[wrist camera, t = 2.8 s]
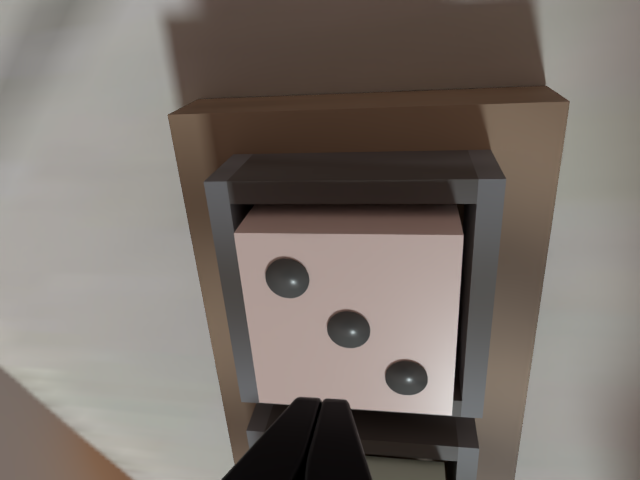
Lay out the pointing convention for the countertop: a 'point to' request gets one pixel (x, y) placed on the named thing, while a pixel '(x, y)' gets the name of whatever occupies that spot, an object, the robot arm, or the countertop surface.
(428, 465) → the tile two
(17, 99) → the countertop surface
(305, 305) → the tile three
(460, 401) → the digit board
